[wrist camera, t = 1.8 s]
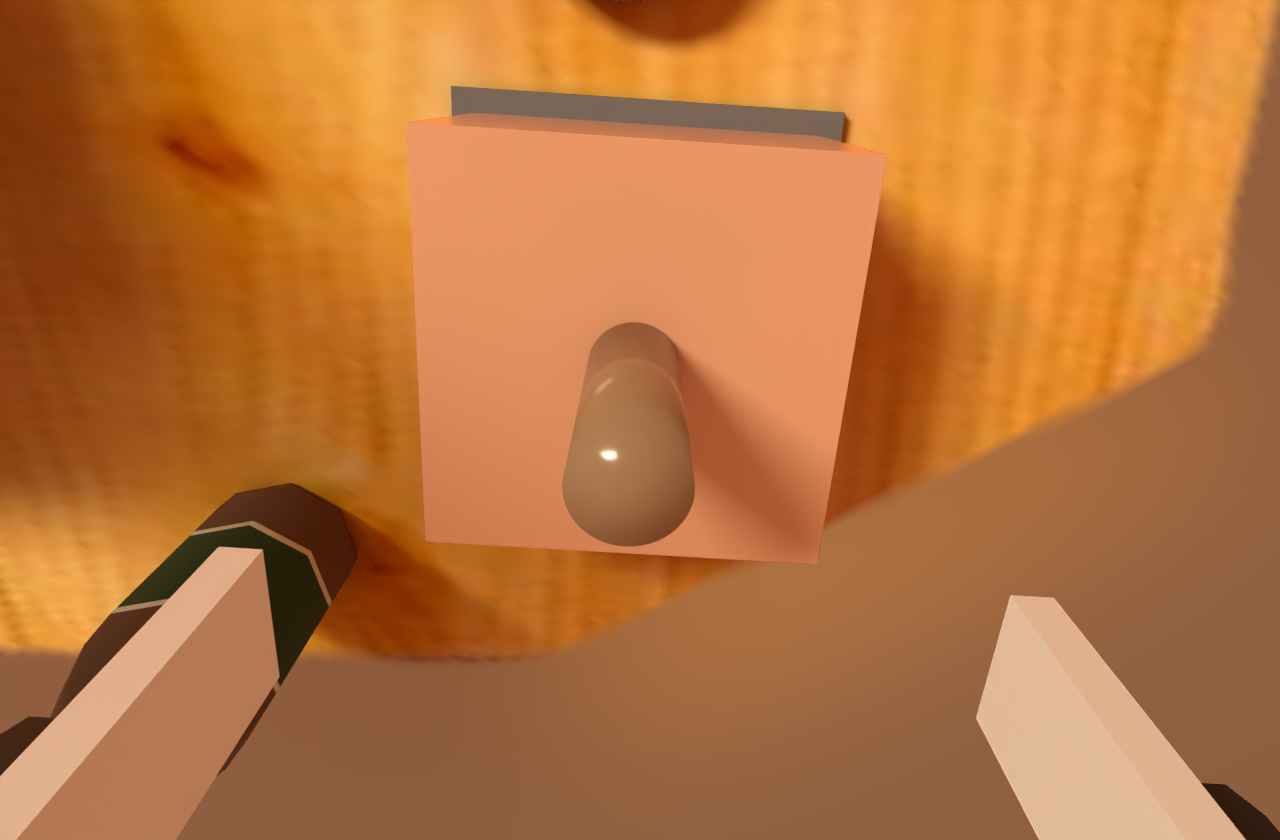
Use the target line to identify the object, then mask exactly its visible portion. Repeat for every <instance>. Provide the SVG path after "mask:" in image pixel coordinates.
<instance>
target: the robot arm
mask: <svg viewBox="0 0 1280 840" xmlns="http://www.w3.org/2000/svg"><path fill="white" fill-rule="evenodd" d="M279 677H280V676H279V668H278V661H277V653H276V646H275V638H274V631H273V623H272V615H271V608H270V600H269V593H268V585H267V578H266V570H265V563H264V555H263V549H247V548H231V547H218V548H217V549H216V550H215V551H214V552H213V553H212V554H211V555H210V556H209V557H208V558H207V559H206V561H205V562H204V563H203V564H202V565H201V566H200V567H199V568H198V569H197V570H196V571H195V572H194V573H193V574H192V575H191V576H190V577H189V578H188V579H187V581H186V582H185V583H184V584H183V585H182V586H181V587H180V588H179V589H178V590H177V591H176V592H175V593H174V594H173V595H172V596H171V597H170V598H169V599H168V600H167V602H166V603H165V604H164V605H163V606H162V607H161V608H160V609H159V610H158V611H157V612H156V613H155V614H154V615H153V616H152V617H151V618H150V619H149V620H148V621H147V623H146V624H145V625H144V626H143V627H142V628H141V629H140V630H139V631H138V632H137V633H136V634H135V635H134V636H133V637H132V638H131V639H130V640H129V641H128V642H127V644H126V645H125V646H124V647H123V648H122V649H121V650H120V651H119V652H118V653H117V654H116V655H115V656H114V657H113V658H112V659H111V660H110V661H109V662H108V663H107V665H106V666H105V667H104V668H103V669H102V670H101V671H100V672H99V673H98V674H97V675H96V676H95V677H94V678H93V679H92V680H91V681H90V682H89V683H88V685H87V686H86V687H85V688H84V689H83V690H82V691H81V692H80V693H79V694H78V695H77V696H76V697H75V698H74V699H73V700H72V701H71V702H70V703H69V704H68V706H67V707H66V708H65V709H64V710H63V711H62V712H61V713H60V714H59V715H58V716H57V717H56V718H45V717H28V718H26V719H24V720H23V721H21V722H20V723H18V724H16V725H15V726H13V727H12V728H10V729H8V730H7V731H5V732H3V733H2V734H0V840H176V838H177V837H178V835H179V834H180V832H181V831H182V829H183V828H184V826H185V824H186V823H187V821H188V820H189V818H190V817H191V815H192V813H193V812H194V810H195V809H196V807H197V806H198V804H199V802H200V801H201V799H202V798H203V796H204V795H205V793H206V791H207V790H208V788H209V787H210V785H211V783H212V782H213V780H214V779H215V777H216V776H217V774H218V773H219V771H220V769H221V768H222V766H223V765H224V763H225V762H226V760H227V758H228V757H229V755H230V754H231V752H232V751H233V749H234V747H235V746H236V744H237V743H238V741H239V740H240V738H241V736H242V735H243V733H244V732H245V730H246V729H247V727H248V725H249V724H250V722H251V721H252V719H253V718H254V716H255V714H256V713H257V711H258V710H259V708H260V707H261V705H262V703H263V702H264V700H265V699H266V697H267V696H268V694H269V692H270V691H271V689H272V688H273V686H274V685H275V683H276V681H277V680H278V678H279ZM976 719H977V721H978V722H979V724H980V727H981V728H982V730H983V732H984V734H985V736H986V738H987V740H988V742H989V744H990V746H991V748H992V749H993V752H994V753H995V756H996V757H997V759H998V761H999V763H1000V765H1001V767H1002V769H1003V771H1004V773H1005V775H1006V777H1007V779H1008V780H1009V782H1010V785H1011V786H1012V788H1013V790H1014V792H1015V794H1016V796H1017V798H1018V800H1019V802H1020V803H1021V806H1022V808H1023V810H1024V812H1025V814H1026V815H1027V817H1028V819H1029V821H1030V823H1031V825H1032V827H1033V829H1034V831H1035V833H1036V835H1037V837H1038V839H1039V840H1280V832H1279V831H1278V830H1277V829H1276V827H1275V826H1274V825H1273V824H1272V823H1271V822H1270V820H1269V819H1268V818H1267V817H1266V816H1265V815H1264V814H1263V813H1261V812H1260V811H1259V810H1258V809H1256V808H1255V807H1254V806H1252V805H1251V804H1250V803H1249V802H1247V801H1246V800H1244V799H1243V798H1242V797H1241V796H1239V795H1238V794H1237V793H1235V792H1234V791H1233V790H1232V789H1230V788H1229V787H1228V786H1227V785H1223V784H1206V783H1200V782H1199V780H1198V779H1197V778H1196V777H1195V775H1194V774H1193V773H1192V771H1191V770H1190V769H1189V768H1188V766H1187V765H1186V764H1185V763H1184V761H1183V760H1182V759H1181V758H1180V756H1179V755H1178V754H1177V753H1176V751H1175V750H1174V749H1173V748H1172V746H1171V745H1170V744H1169V742H1168V741H1167V740H1166V739H1165V737H1164V736H1163V735H1162V734H1161V732H1160V731H1159V730H1158V729H1157V727H1156V726H1155V725H1154V723H1153V722H1152V721H1151V720H1150V718H1149V717H1148V716H1147V715H1146V713H1145V712H1144V711H1143V710H1142V708H1141V707H1140V706H1139V705H1138V703H1137V702H1136V701H1135V700H1134V698H1133V697H1132V696H1131V695H1130V693H1129V692H1128V691H1127V690H1126V688H1125V687H1124V686H1123V684H1122V683H1121V682H1120V681H1119V679H1118V678H1117V677H1116V676H1115V675H1114V673H1113V672H1112V671H1111V669H1110V668H1109V667H1108V666H1107V664H1106V663H1105V662H1104V661H1103V659H1102V658H1101V657H1100V656H1099V654H1098V653H1097V652H1096V650H1095V649H1094V648H1093V647H1092V645H1091V644H1090V643H1089V642H1088V640H1087V639H1086V638H1085V637H1084V636H1083V634H1082V633H1081V632H1080V630H1079V629H1078V628H1077V627H1076V625H1075V624H1074V623H1073V622H1072V620H1071V619H1070V618H1069V617H1068V615H1067V614H1066V613H1065V611H1064V610H1063V609H1062V608H1061V606H1060V605H1059V604H1058V603H1057V601H1056V600H1055V599H1054V598H1046V597H1029V596H1013V595H1011V596H1010V599H1009V603H1008V607H1007V610H1006V614H1005V618H1004V621H1003V624H1002V628H1001V631H1000V635H999V639H998V642H997V646H996V649H995V653H994V656H993V660H992V663H991V667H990V670H989V674H988V678H987V681H986V685H985V688H984V692H983V695H982V699H981V703H980V706H979V709H978V713H977V717H976Z"/></svg>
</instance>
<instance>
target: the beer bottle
mask: <svg viewBox="0 0 1280 840" xmlns="http://www.w3.org/2000/svg"><path fill="white" fill-rule="evenodd" d="M218 547H231V548H247V549H263V555H264V563H265V570H266V578H267V585H268V593H269V600H270V608H271V615H272V623H273V631H274V638H275V646H276V653H277V661H278V668H279V676H280V677H279V678H278V680H277V681H276V683H275V685H274V686H273V688H272V689H271V691H270V692H269V694H268V696H267V697H266V699H265V700H264V702H263V703H262V705H261V707H260V708H259V710H258V711H257V713H256V714H255V716H254V718H253V719H252V721H251V722H250V724H249V725H248V727H247V729H246V730H245V732H244V733H243V735H242V736H241V738H240V740H239V741H238V743H237V744H236V746H235V747H234V749H233V751H232V752H231V754H230V755H229V757H228V758H227V760H226V762H225V763H224V765H223V766H222V768H221V769H220V771H219V773H218V774H217V775H219V774H220V773H221V772H222V771H224V770H225V769H226V768H227V766H228V765H229V764H230V762H231V761H232V760H233V758H234V757H235V755H236V754H237V753H238V751H239V750H240V749H241V747H242V746H243V745H244V743H245V742H246V740H247V739H248V738H249V736H250V734H251V733H252V731H253V730H254V728H255V726H256V725H257V723H258V722H259V720H260V718H261V717H262V715H263V713H264V712H265V710H266V709H267V707H268V705H269V704H270V702H271V701H272V699H273V697H274V696H275V694H276V693H277V691H278V689H279V688H280V686H281V684H282V683H283V681H284V679H285V678H286V676H287V675H288V673H289V671H290V669H291V668H292V666H293V665H294V663H295V661H296V660H297V658H298V657H299V655H300V653H301V652H302V650H303V648H304V647H305V645H306V643H307V642H308V640H309V639H310V637H311V635H312V634H313V632H314V630H315V629H316V627H317V625H318V624H319V622H320V621H321V619H322V617H323V616H324V614H325V612H326V611H327V609H328V607H329V606H330V604H331V603H332V601H333V599H334V598H335V596H336V594H337V593H338V591H339V590H340V588H341V586H342V585H343V583H344V581H345V580H346V578H347V576H348V575H349V573H350V571H351V569H352V567H353V565H354V563H355V561H356V559H357V554H356V551H355V549H354V546H353V544H352V541H351V538H350V536H349V533H348V531H347V528H346V525H345V523H344V520H343V518H342V515H341V513H340V510H339V509H338V508H336V507H334V506H333V505H331V504H329V503H327V502H325V501H323V500H321V499H320V498H318V497H316V496H314V495H312V494H310V493H309V492H307V491H305V490H303V489H301V488H299V487H297V486H296V485H294V484H292V483H290V484H284V485H278V486H273V487H267V488H262V489H256V490H251V491H245V492H240V493H236V494H235V495H234V496H232V497H231V498H230V499H229V500H228V501H226V502H225V503H224V504H223V505H221V506H220V507H219V508H218V509H217V510H216V511H215V512H214V513H213V514H212V515H211V516H210V517H209V518H208V519H207V520H206V521H205V522H204V523H203V524H202V525H201V526H200V527H199V528H197V529H196V530H195V531H194V532H193V533H192V534H191V535H190V536H189V537H188V538H187V539H186V540H185V541H184V542H183V543H182V544H181V545H180V546H179V547H178V548H177V549H176V550H175V551H174V552H173V553H172V554H171V555H170V556H169V557H168V558H167V559H166V560H165V561H164V562H163V563H162V564H161V565H160V566H159V567H158V568H157V569H156V570H155V571H154V572H153V573H152V574H151V575H150V576H149V577H148V578H147V579H145V580H144V581H143V582H142V583H141V584H140V585H139V586H138V587H137V588H136V589H135V590H134V591H133V592H132V593H131V594H130V595H129V596H128V597H127V598H126V599H125V600H124V601H123V602H122V603H121V604H120V605H119V606H118V607H117V608H116V609H115V610H114V611H113V612H112V613H111V614H110V615H109V616H108V617H107V619H106V620H105V621H104V622H103V623H102V624H101V626H100V627H99V628H98V629H97V630H96V632H95V633H94V634H93V635H92V636H91V637H90V639H89V640H88V641H87V642H86V643H85V645H84V646H83V648H82V650H81V652H80V654H79V657H78V659H77V661H76V663H75V665H74V667H73V669H72V671H71V673H70V675H69V677H68V679H67V681H66V683H65V685H64V687H63V689H62V691H61V693H60V695H59V698H58V700H57V703H56V705H55V708H54V710H53V712H52V715H51V717H50V718H56V717H57V716H58V715H59V714H60V713H61V712H62V711H63V710H64V709H65V708H66V707H67V706H68V704H69V703H70V702H71V701H72V700H73V699H74V698H75V697H76V696H77V695H78V694H79V693H80V692H81V691H82V690H83V689H84V688H85V687H86V686H87V685H88V683H89V682H90V681H91V680H92V679H93V678H94V677H95V676H96V675H97V674H98V673H99V672H100V671H101V670H102V669H103V668H104V667H105V666H106V665H107V663H108V662H109V661H110V660H111V659H112V658H113V657H114V656H115V655H116V654H117V653H118V652H119V651H120V650H121V649H122V648H123V647H124V646H125V645H126V644H127V642H128V641H129V640H130V639H131V638H132V637H133V636H134V635H135V634H136V633H137V632H138V631H139V630H140V629H141V628H142V627H143V626H144V625H145V624H146V623H147V621H148V620H149V619H150V618H151V617H152V616H153V615H154V614H155V613H156V612H157V611H158V610H159V609H160V608H161V607H162V606H163V605H164V604H165V603H166V602H167V600H168V599H169V598H170V597H171V596H172V595H173V594H174V593H175V592H176V591H177V590H178V589H179V588H180V587H181V586H182V585H183V584H184V583H185V582H186V581H187V579H188V578H189V577H190V576H191V575H192V574H193V573H194V572H195V571H196V570H197V569H198V568H199V567H200V566H201V565H202V564H203V563H204V562H205V561H206V559H207V558H208V557H209V556H210V555H211V554H212V553H213V552H214V551H215V550H216V549H217V548H218Z"/></svg>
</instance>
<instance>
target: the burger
mask: <svg viewBox="0 0 1280 840" xmlns="http://www.w3.org/2000/svg"><path fill="white" fill-rule="evenodd" d="M608 1H613V0H608ZM614 1H617V2H619V3H620V2H623V1H624V2H625V1H631V2H642V0H614Z"/></svg>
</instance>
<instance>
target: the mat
mask: <svg viewBox="0 0 1280 840" xmlns="http://www.w3.org/2000/svg"><path fill="white" fill-rule="evenodd" d="M451 98H452V116H455V115H462V114H469V113H488V114H503V115H517V116H532V117H547V118H562V119H577V120H592V121H606V122H621V123H636V124H651V125H666V126H681V127H695V128H710V129H725V130H740V131H755V132H770V133H784V134H799V135H814V136H821V137H825V138H829V139H832V140H836V141H840V142H841V138H842V131H843V125H844V118H845V113H841V112H826V111H812V110H797V109H782V108H768V107H753V106H738V105H723V104H709V103H694V102H679V101H665V100H650V99H635V98H620V97H606V96H591V95H576V94H562V93H547V92H532V91H517V90H503V89H488V88H473V87H459V86H451Z"/></svg>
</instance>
